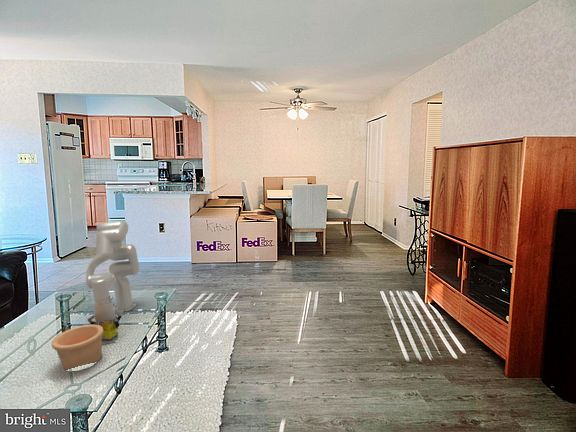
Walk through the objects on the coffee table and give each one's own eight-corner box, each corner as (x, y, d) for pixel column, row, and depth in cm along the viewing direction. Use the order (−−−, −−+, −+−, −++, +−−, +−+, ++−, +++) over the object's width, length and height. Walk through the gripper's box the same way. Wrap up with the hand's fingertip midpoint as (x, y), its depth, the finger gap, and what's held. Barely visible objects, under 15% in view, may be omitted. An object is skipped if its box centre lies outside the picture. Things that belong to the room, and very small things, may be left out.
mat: (78, 340, 198) (78, 340, 198) (118, 332, 205) (118, 331, 205) (74, 351, 187) (74, 351, 187) (116, 342, 194) (116, 341, 194)
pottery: (96, 345, 193) (91, 320, 190) (115, 358, 179) (110, 331, 176) (50, 365, 176) (44, 338, 174) (67, 381, 162) (61, 352, 160)
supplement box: (111, 340, 195) (107, 322, 193) (101, 340, 196) (97, 321, 194) (118, 335, 201) (114, 316, 199) (108, 334, 202) (105, 316, 200)
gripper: (120, 294, 201) (125, 323, 204) (85, 301, 195) (91, 330, 198) (119, 299, 194) (124, 329, 197) (83, 306, 188) (89, 336, 191)
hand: (107, 329), depth 197 cm, fingers open, 9 cm apart
